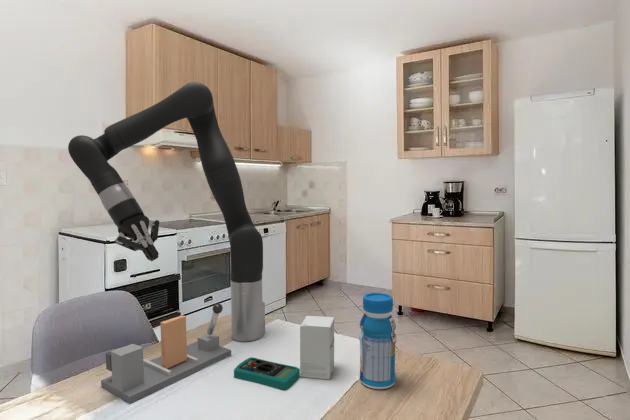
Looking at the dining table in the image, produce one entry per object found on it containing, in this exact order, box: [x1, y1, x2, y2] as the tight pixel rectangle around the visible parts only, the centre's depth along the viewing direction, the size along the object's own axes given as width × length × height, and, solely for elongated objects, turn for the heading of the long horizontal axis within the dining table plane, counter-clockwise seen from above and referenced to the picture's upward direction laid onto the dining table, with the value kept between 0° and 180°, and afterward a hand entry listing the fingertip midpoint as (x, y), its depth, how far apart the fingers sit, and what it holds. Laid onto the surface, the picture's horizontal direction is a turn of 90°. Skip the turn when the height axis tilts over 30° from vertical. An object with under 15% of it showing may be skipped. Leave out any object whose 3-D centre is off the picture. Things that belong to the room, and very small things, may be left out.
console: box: [100, 333, 232, 405], centre depth 97 cm, size 28×12×10 cm, turn 144°
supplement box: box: [299, 315, 335, 380], centre depth 95 cm, size 7×7×13 cm
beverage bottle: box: [358, 292, 397, 390], centre depth 90 cm, size 8×8×20 cm
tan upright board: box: [159, 314, 188, 369], centre depth 96 cm, size 6×2×11 cm, turn 144°
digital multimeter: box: [233, 356, 301, 391], centre depth 93 cm, size 7×15×3 cm, turn 64°
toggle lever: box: [206, 303, 224, 335], centre depth 104 cm, size 3×3×10 cm
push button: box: [105, 351, 112, 372], centre depth 89 cm, size 4×2×4 cm, turn 144°
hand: (155, 259), depth 105 cm, fingers closed
